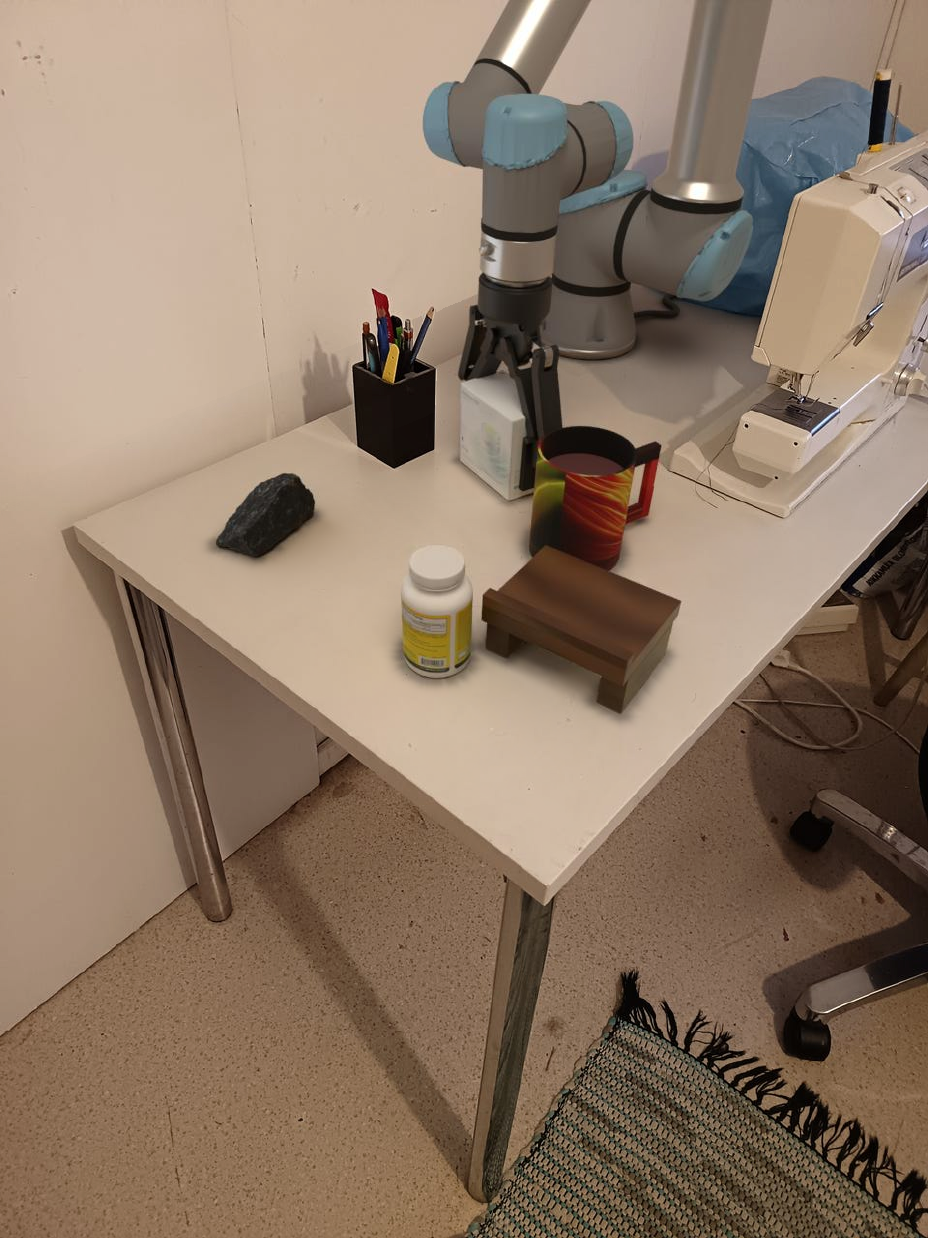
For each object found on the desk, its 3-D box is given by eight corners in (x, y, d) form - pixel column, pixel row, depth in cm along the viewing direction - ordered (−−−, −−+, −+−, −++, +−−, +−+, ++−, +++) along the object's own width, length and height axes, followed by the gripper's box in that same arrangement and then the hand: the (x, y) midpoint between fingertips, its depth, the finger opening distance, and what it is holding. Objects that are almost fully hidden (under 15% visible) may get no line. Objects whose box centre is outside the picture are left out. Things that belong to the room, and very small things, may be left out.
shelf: (540, 593, 87) (546, 534, 83) (669, 650, 81) (684, 590, 77) (479, 654, 80) (482, 594, 76) (615, 721, 75) (628, 660, 70)
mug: (648, 522, 97) (667, 425, 89) (597, 589, 88) (614, 487, 80) (569, 496, 101) (581, 400, 93) (513, 558, 92) (520, 458, 84)
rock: (206, 546, 92) (196, 499, 88) (264, 498, 99) (257, 453, 95) (262, 565, 89) (254, 518, 86) (317, 515, 96) (312, 469, 93)
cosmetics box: (456, 461, 106) (458, 380, 99) (500, 447, 108) (505, 367, 102) (506, 503, 99) (512, 419, 92) (551, 487, 102) (560, 405, 95)
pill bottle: (452, 626, 83) (454, 531, 76) (482, 667, 79) (487, 571, 72) (392, 645, 81) (388, 549, 74) (420, 689, 77) (419, 592, 70)
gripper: (428, 244, 94) (428, 428, 109) (550, 321, 79) (531, 522, 94) (487, 234, 97) (480, 414, 112) (616, 307, 82) (588, 503, 97)
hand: (503, 463), depth 103 cm, fingers closed on cosmetics box, 11 cm apart
